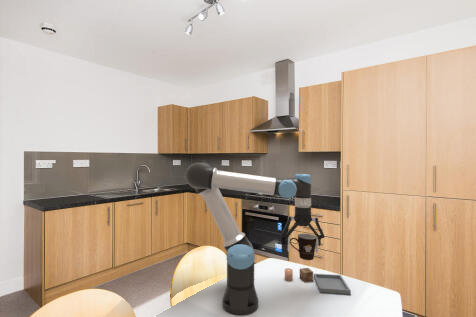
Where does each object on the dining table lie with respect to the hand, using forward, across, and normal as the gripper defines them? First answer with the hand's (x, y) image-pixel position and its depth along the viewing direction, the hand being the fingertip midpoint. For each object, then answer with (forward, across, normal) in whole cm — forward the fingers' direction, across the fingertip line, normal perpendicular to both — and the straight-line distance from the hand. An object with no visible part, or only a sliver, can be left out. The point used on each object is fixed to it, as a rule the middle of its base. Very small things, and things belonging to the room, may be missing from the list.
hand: (302, 251), depth 117 cm
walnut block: (+18, +3, +11) cm, 21 cm away
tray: (+18, +14, +6) cm, 24 cm away
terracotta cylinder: (+18, -6, +10) cm, 21 cm away
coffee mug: (+2, 0, 0) cm, 3 cm away
